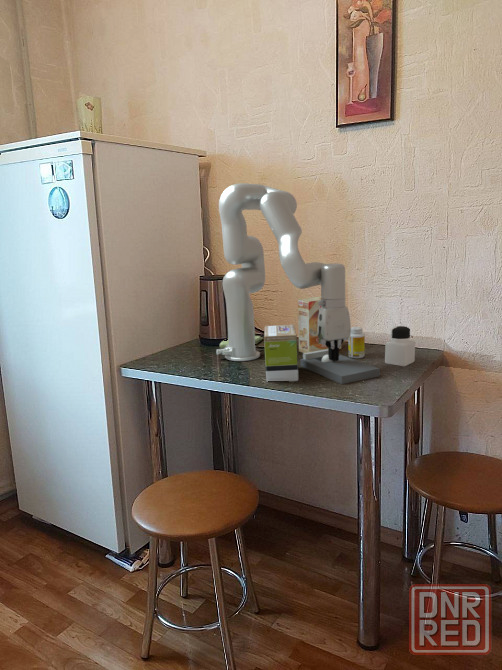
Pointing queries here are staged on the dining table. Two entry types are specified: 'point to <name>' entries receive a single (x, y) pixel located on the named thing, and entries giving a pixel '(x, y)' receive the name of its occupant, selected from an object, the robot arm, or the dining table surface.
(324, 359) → the ball
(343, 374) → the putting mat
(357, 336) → the supplement bottle
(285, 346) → the tea box
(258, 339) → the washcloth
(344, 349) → the dining table surface
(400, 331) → the medicine bottle
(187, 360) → the dining table surface
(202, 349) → the dining table surface
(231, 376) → the dining table surface
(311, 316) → the coffeecake box
